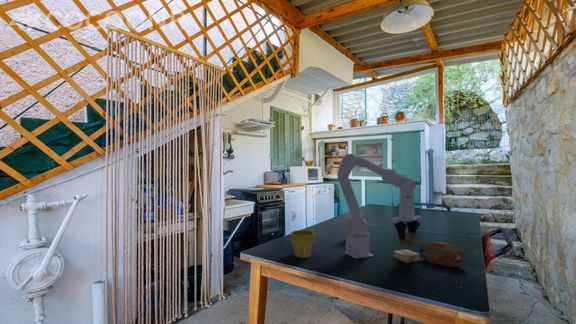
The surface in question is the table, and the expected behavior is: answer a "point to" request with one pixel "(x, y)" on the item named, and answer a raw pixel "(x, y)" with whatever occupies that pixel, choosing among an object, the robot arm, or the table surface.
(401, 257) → the oak block
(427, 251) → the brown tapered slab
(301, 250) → the plant pot
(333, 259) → the table surface
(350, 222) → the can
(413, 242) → the walnut block
